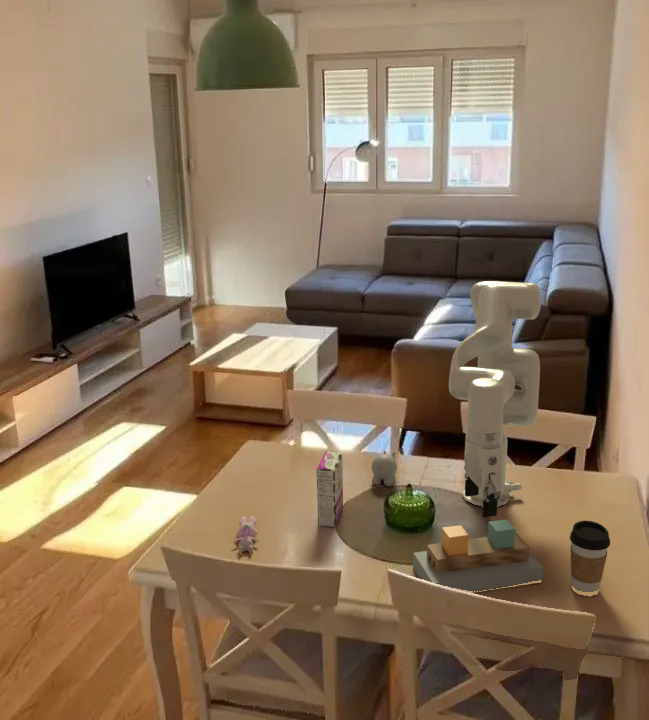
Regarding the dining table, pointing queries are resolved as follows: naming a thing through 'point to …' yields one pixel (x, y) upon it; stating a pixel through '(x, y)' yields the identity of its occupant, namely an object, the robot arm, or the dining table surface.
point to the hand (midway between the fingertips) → (480, 505)
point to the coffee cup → (588, 555)
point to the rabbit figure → (246, 534)
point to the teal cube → (501, 534)
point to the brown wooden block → (477, 555)
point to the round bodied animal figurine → (384, 469)
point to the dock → (480, 574)
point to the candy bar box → (330, 489)
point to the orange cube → (454, 540)
